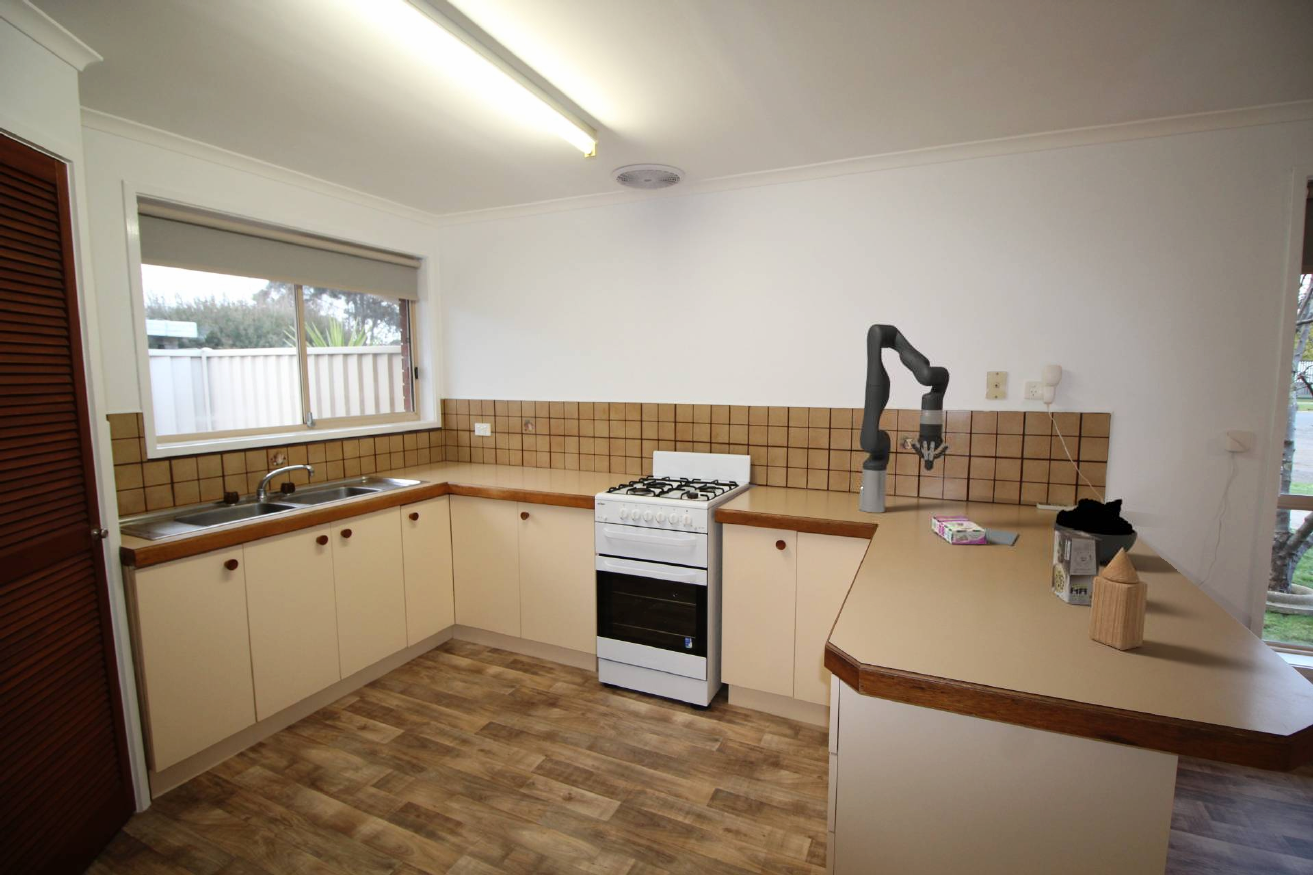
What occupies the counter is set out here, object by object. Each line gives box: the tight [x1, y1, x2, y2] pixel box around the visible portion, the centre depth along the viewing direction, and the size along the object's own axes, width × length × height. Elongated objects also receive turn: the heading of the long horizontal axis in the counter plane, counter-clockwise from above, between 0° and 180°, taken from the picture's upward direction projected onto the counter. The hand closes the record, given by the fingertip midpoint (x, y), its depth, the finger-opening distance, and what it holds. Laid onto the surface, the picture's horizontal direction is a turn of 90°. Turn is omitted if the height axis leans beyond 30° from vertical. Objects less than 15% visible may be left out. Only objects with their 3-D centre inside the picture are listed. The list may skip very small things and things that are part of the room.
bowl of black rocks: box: [1053, 497, 1138, 563], centre depth 176 cm, size 20×20×19 cm
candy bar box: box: [931, 515, 987, 545], centre depth 200 cm, size 11×5×16 cm
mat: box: [982, 527, 1019, 547], centre depth 204 cm, size 16×18×1 cm
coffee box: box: [1051, 530, 1101, 606], centre depth 144 cm, size 9×6×16 cm
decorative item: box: [1088, 547, 1149, 651], centre depth 120 cm, size 7×7×20 cm
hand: (928, 470), depth 214 cm, fingers closed
